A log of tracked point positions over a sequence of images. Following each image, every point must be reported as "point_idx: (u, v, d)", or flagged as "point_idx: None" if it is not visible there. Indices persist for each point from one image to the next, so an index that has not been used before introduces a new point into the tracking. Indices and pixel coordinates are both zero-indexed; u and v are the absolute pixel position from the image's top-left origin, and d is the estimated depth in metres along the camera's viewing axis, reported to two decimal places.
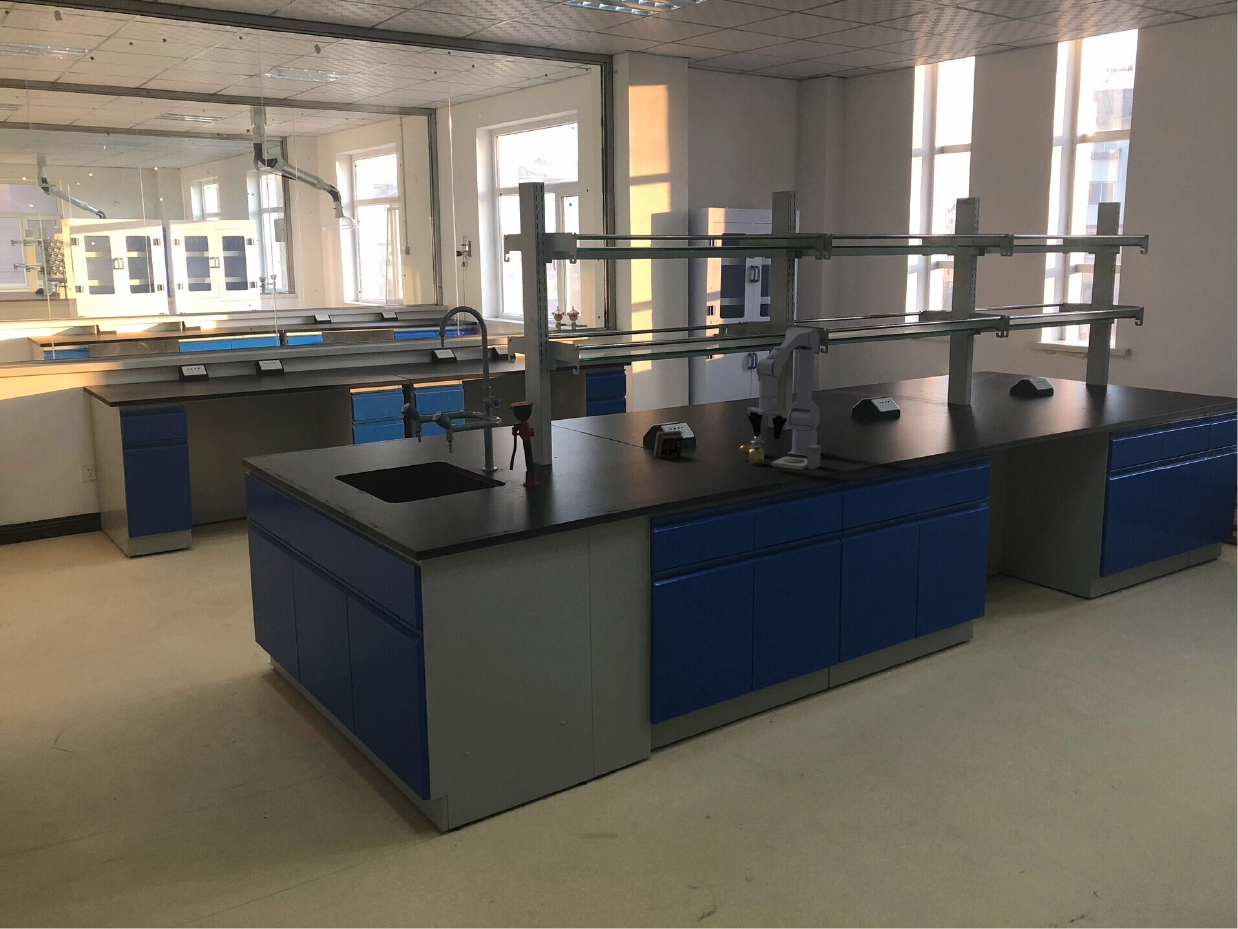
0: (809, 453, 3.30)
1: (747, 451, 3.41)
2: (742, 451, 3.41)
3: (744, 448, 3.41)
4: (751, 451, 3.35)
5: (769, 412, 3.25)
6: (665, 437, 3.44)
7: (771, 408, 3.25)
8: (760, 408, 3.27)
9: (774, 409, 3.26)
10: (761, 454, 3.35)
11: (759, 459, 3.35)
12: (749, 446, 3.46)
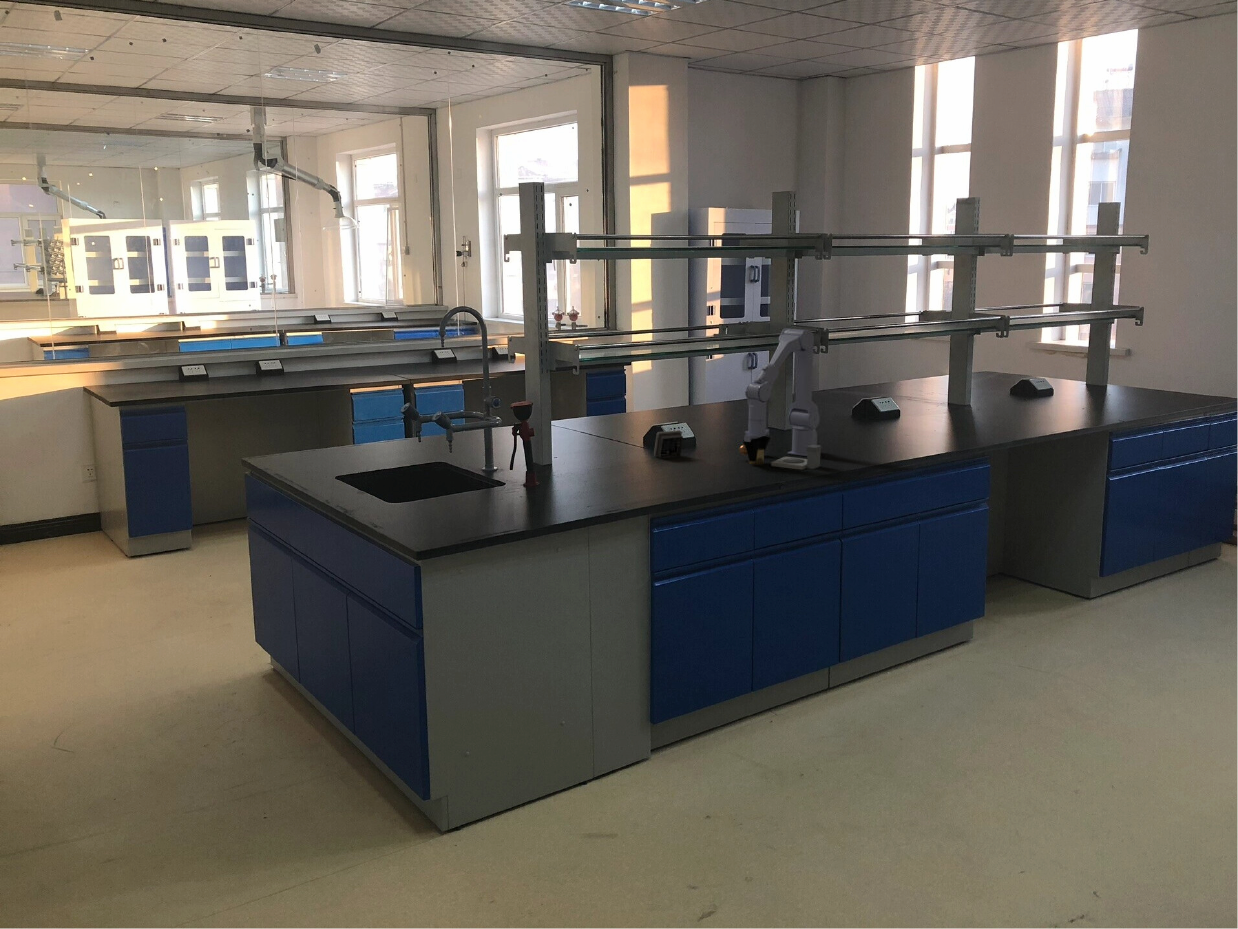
0: (809, 453, 3.30)
1: None
2: (742, 451, 3.41)
3: (744, 448, 3.41)
4: None
5: (747, 433, 3.35)
6: (665, 437, 3.44)
7: (749, 430, 3.34)
8: None
9: (752, 432, 3.33)
10: (761, 454, 3.35)
11: (759, 459, 3.35)
12: None
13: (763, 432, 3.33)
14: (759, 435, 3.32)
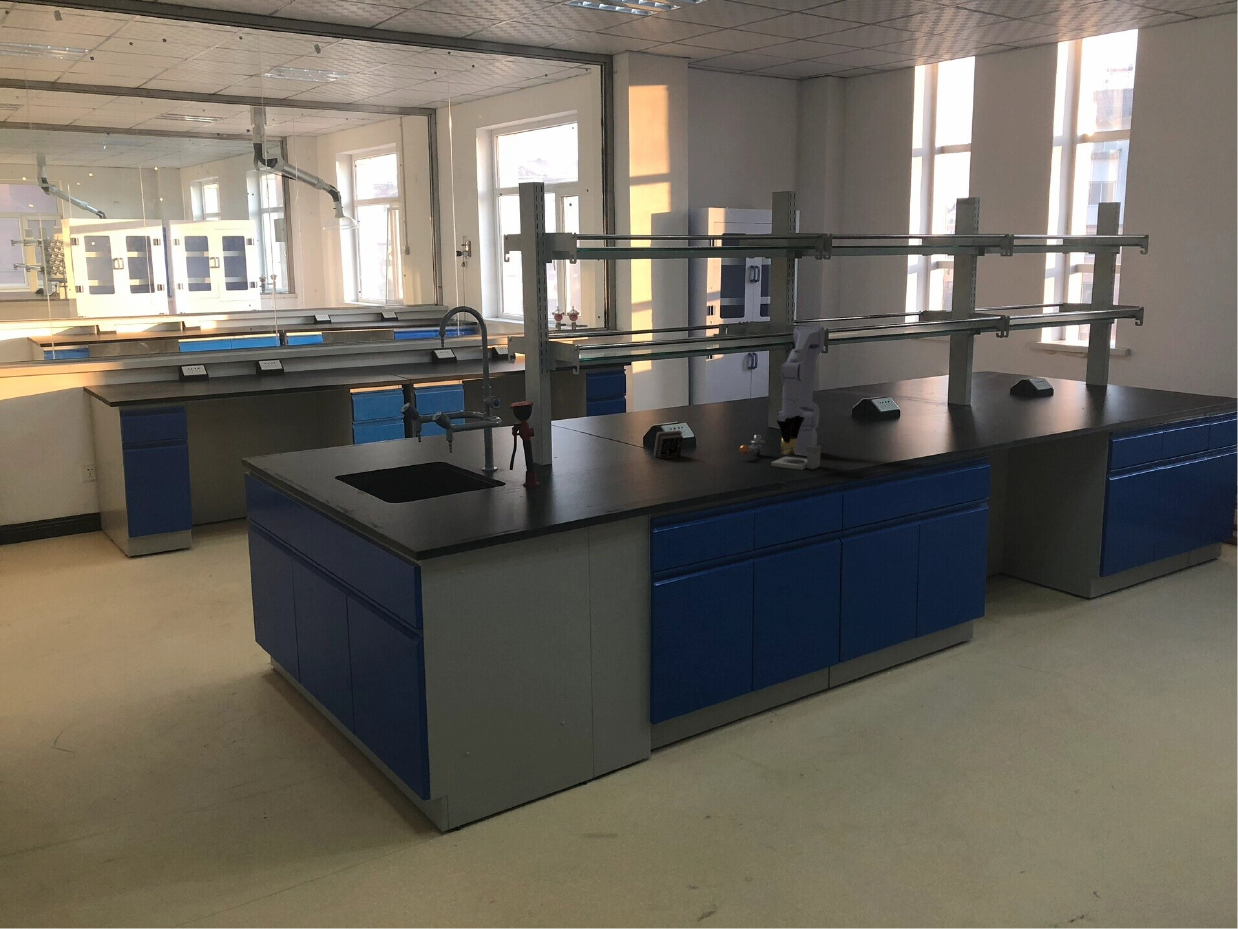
0: (809, 453, 3.30)
1: (747, 451, 3.41)
2: (742, 451, 3.41)
3: (744, 448, 3.41)
4: None
5: (781, 413, 3.32)
6: (665, 437, 3.44)
7: (783, 410, 3.31)
8: None
9: (786, 412, 3.31)
10: (794, 443, 3.33)
11: (792, 448, 3.33)
12: (749, 446, 3.46)
13: (797, 412, 3.31)
14: (793, 415, 3.29)
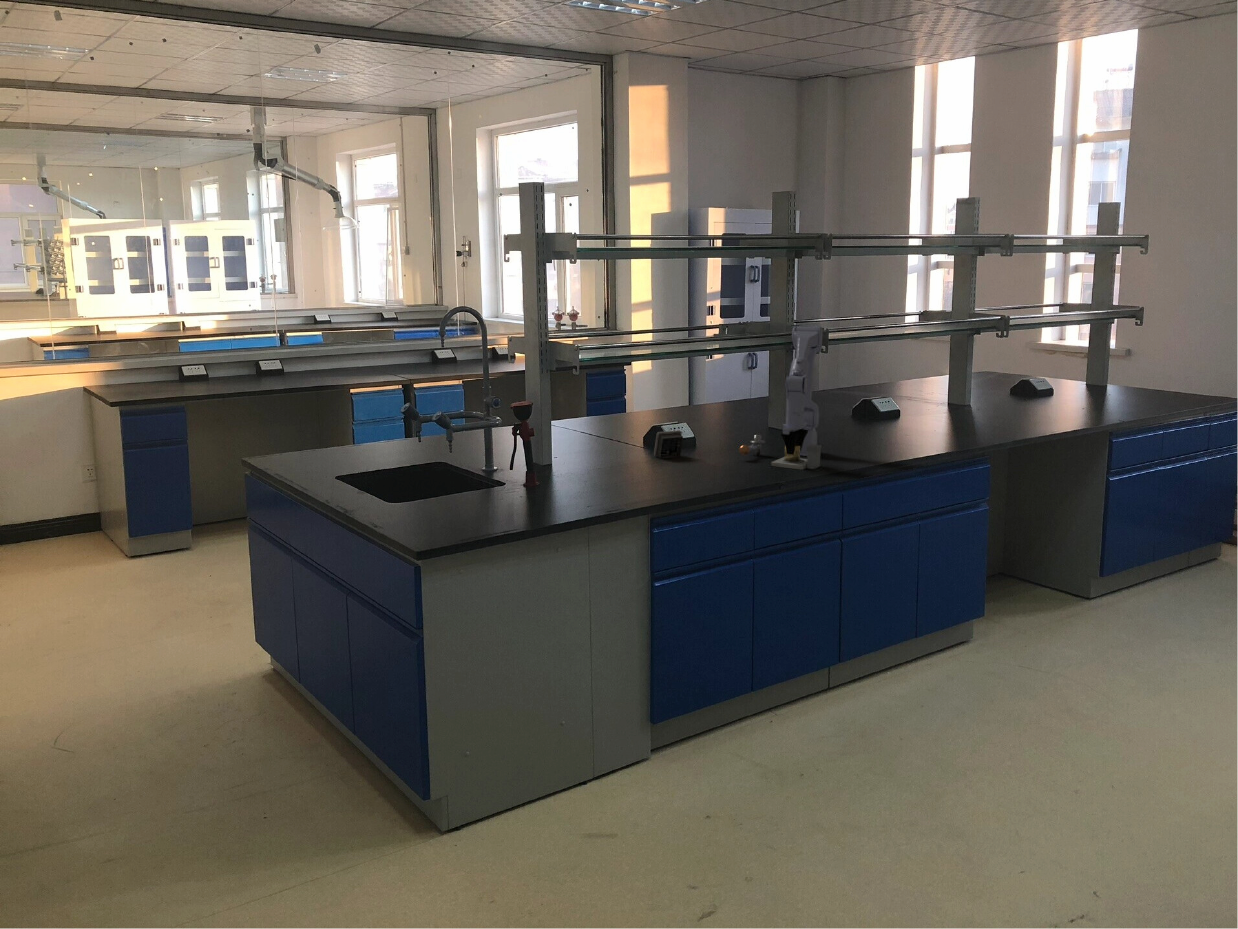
0: (809, 453, 3.30)
1: (747, 451, 3.41)
2: (742, 451, 3.41)
3: (744, 448, 3.41)
4: None
5: (785, 426, 3.33)
6: (665, 437, 3.44)
7: (787, 423, 3.32)
8: None
9: (790, 425, 3.31)
10: (798, 450, 3.34)
11: (796, 455, 3.33)
12: (749, 446, 3.46)
13: (801, 425, 3.31)
14: (797, 428, 3.30)
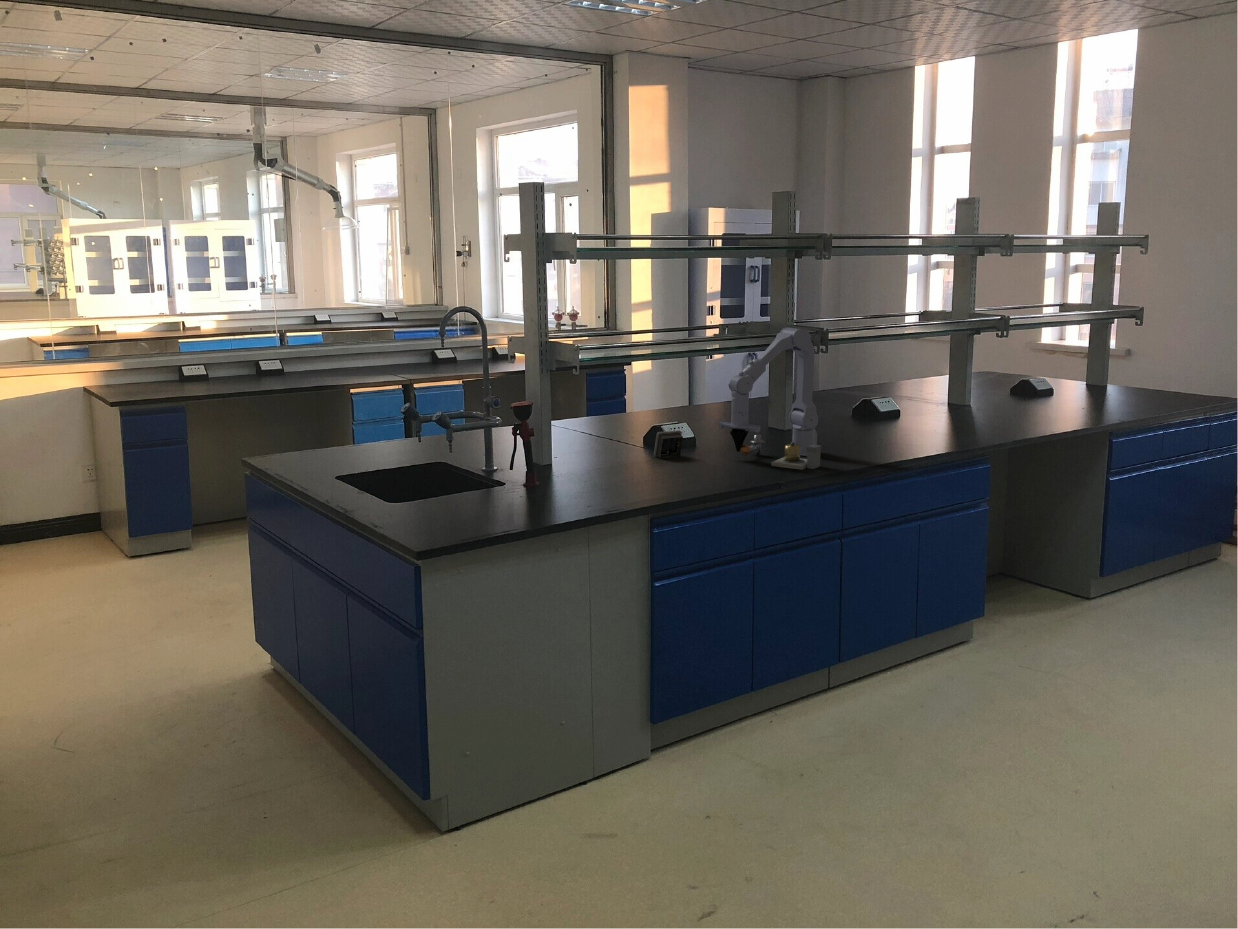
0: (809, 453, 3.30)
1: (748, 451, 3.41)
2: (743, 451, 3.41)
3: (745, 448, 3.41)
4: (788, 447, 3.34)
5: (742, 427, 3.39)
6: (665, 437, 3.44)
7: (744, 423, 3.39)
8: (733, 423, 3.40)
9: (746, 424, 3.40)
10: (798, 450, 3.34)
11: (796, 455, 3.34)
12: (750, 446, 3.46)
13: None
14: None
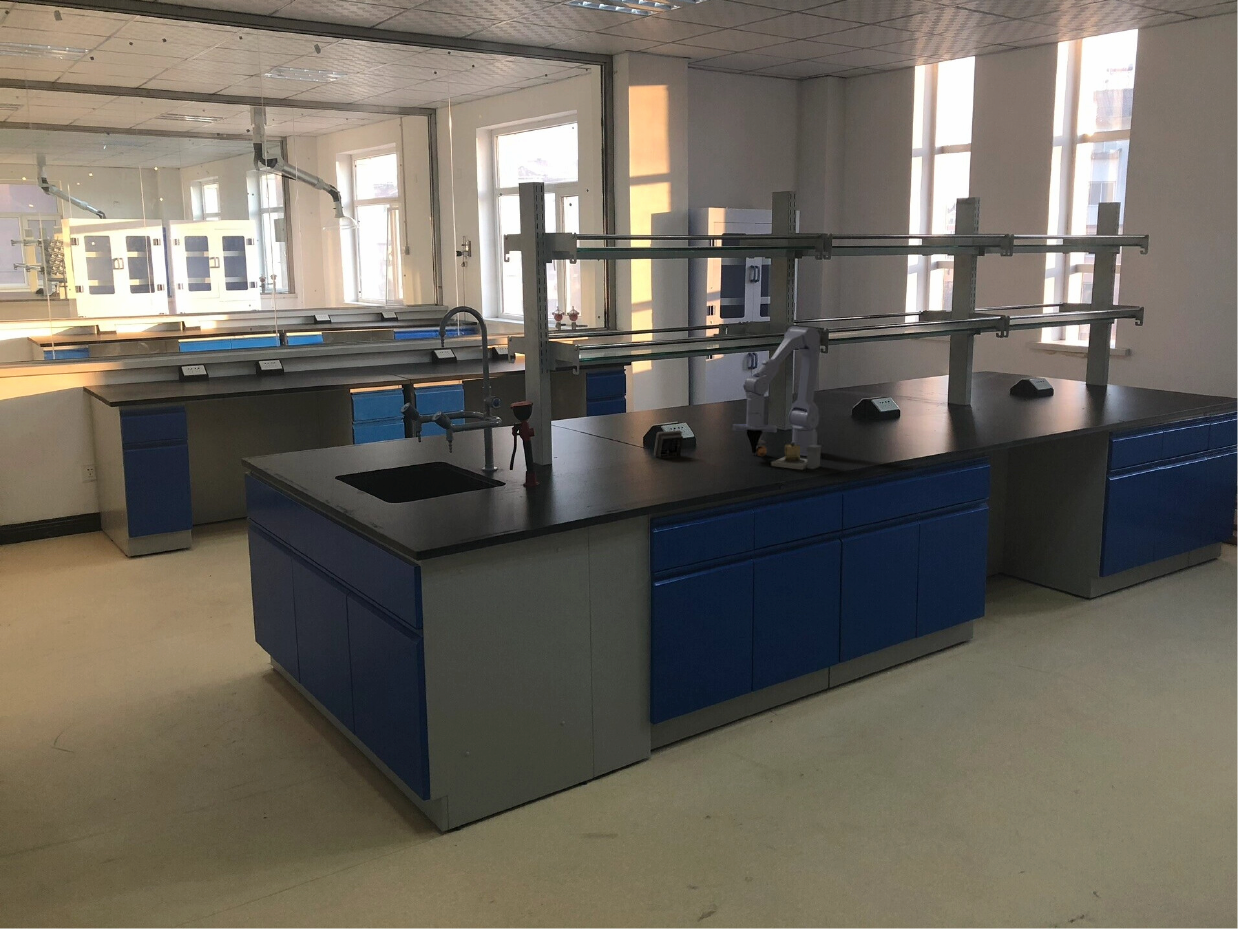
0: (809, 453, 3.30)
1: (766, 451, 3.40)
2: (762, 452, 3.39)
3: (764, 449, 3.40)
4: (788, 447, 3.34)
5: (761, 428, 3.37)
6: (665, 437, 3.44)
7: (761, 424, 3.37)
8: (751, 424, 3.37)
9: None
10: (798, 450, 3.34)
11: (796, 455, 3.34)
12: None
13: None
14: None
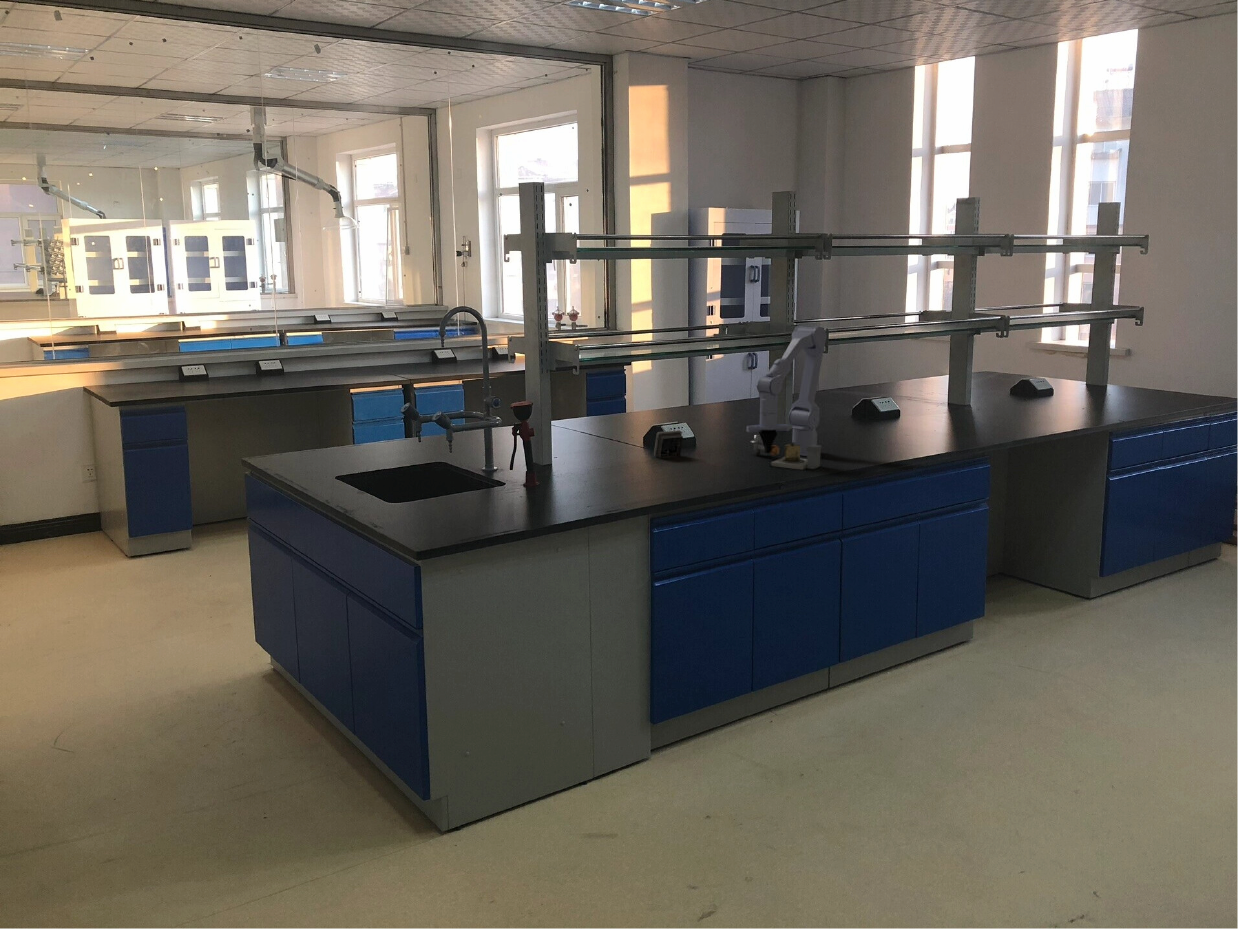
0: (809, 453, 3.30)
1: None
2: (777, 451, 3.41)
3: (778, 448, 3.41)
4: (788, 447, 3.34)
5: (777, 427, 3.38)
6: (665, 437, 3.44)
7: (776, 423, 3.38)
8: (767, 425, 3.37)
9: None
10: (798, 450, 3.34)
11: (796, 455, 3.34)
12: None
13: None
14: None
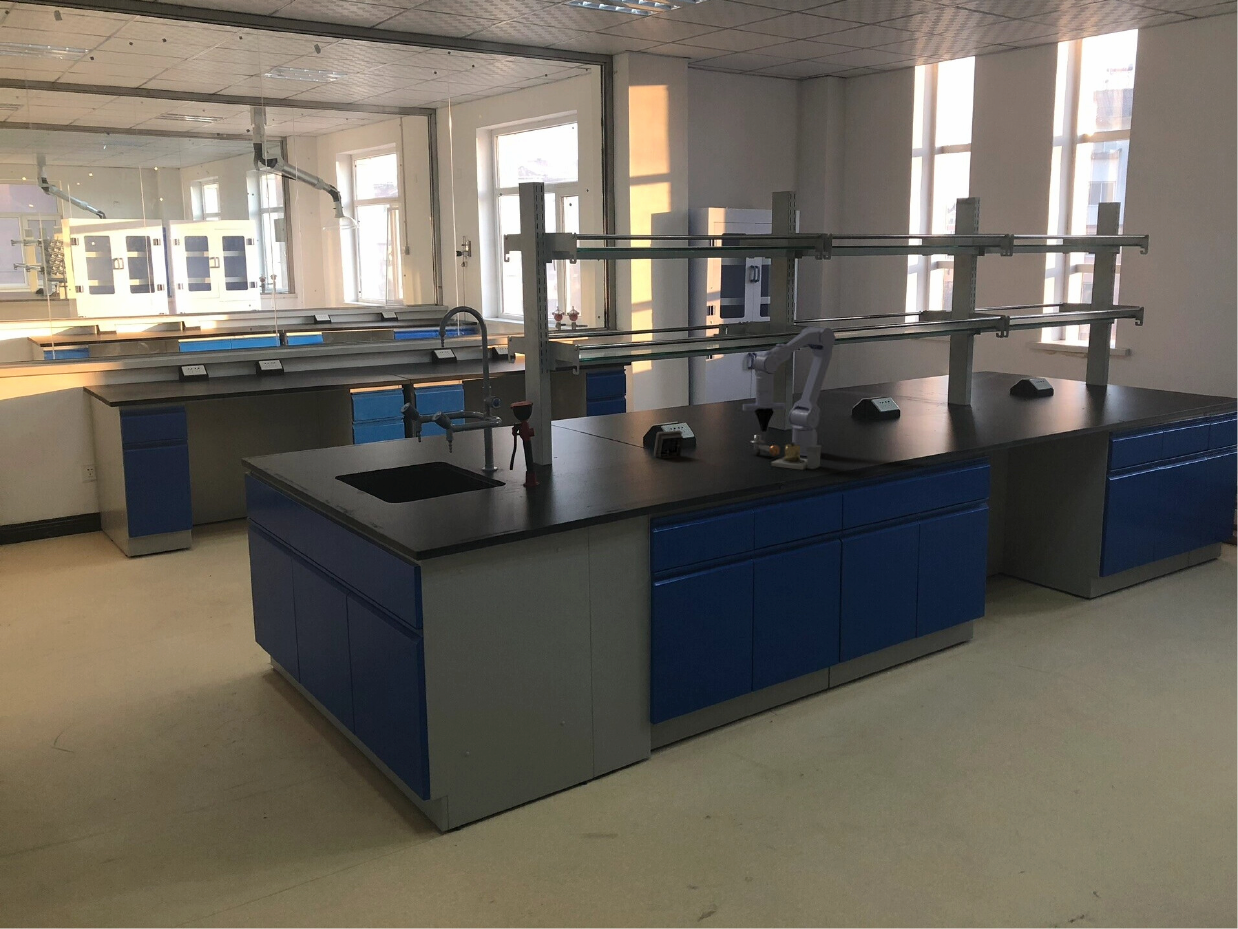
0: (809, 453, 3.30)
1: None
2: (777, 451, 3.41)
3: (778, 448, 3.41)
4: (788, 447, 3.34)
5: (773, 405, 3.38)
6: (665, 437, 3.44)
7: (772, 402, 3.39)
8: (764, 403, 3.37)
9: None
10: (798, 450, 3.34)
11: (796, 455, 3.34)
12: (767, 446, 3.45)
13: None
14: None
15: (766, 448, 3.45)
